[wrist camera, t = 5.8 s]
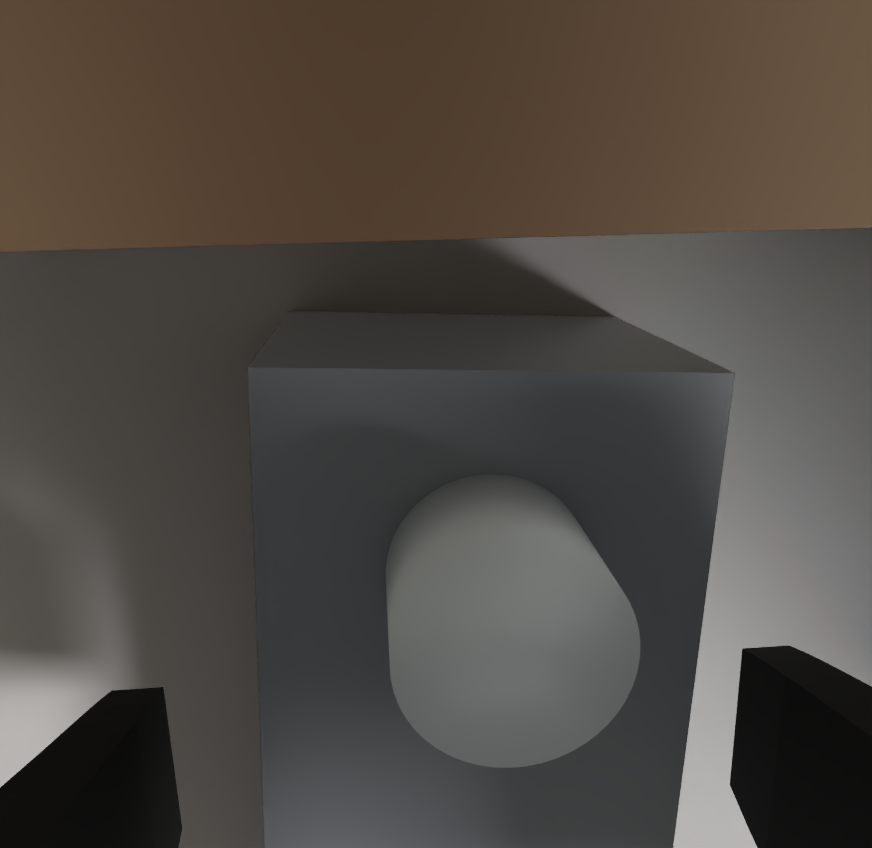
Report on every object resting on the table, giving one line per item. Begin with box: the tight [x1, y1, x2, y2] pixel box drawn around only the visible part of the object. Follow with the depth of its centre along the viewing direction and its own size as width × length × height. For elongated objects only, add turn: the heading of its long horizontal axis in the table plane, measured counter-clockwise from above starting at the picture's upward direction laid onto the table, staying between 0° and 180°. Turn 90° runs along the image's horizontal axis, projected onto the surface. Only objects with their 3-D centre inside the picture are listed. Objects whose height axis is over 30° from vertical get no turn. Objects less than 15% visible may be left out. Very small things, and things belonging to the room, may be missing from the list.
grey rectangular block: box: [247, 311, 735, 848], centre depth 10 cm, size 4×10×6 cm, turn 178°
